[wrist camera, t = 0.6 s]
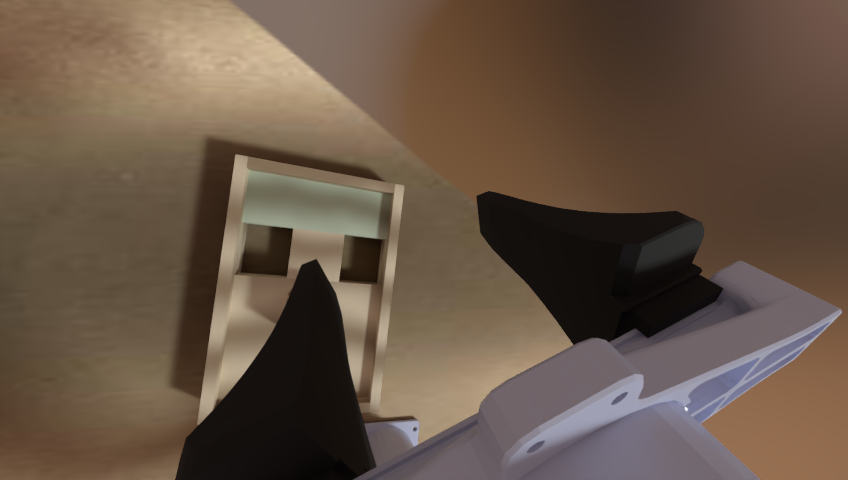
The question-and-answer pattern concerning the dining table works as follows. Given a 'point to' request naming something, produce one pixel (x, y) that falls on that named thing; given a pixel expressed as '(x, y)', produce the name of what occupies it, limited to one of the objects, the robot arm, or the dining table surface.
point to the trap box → (312, 239)
